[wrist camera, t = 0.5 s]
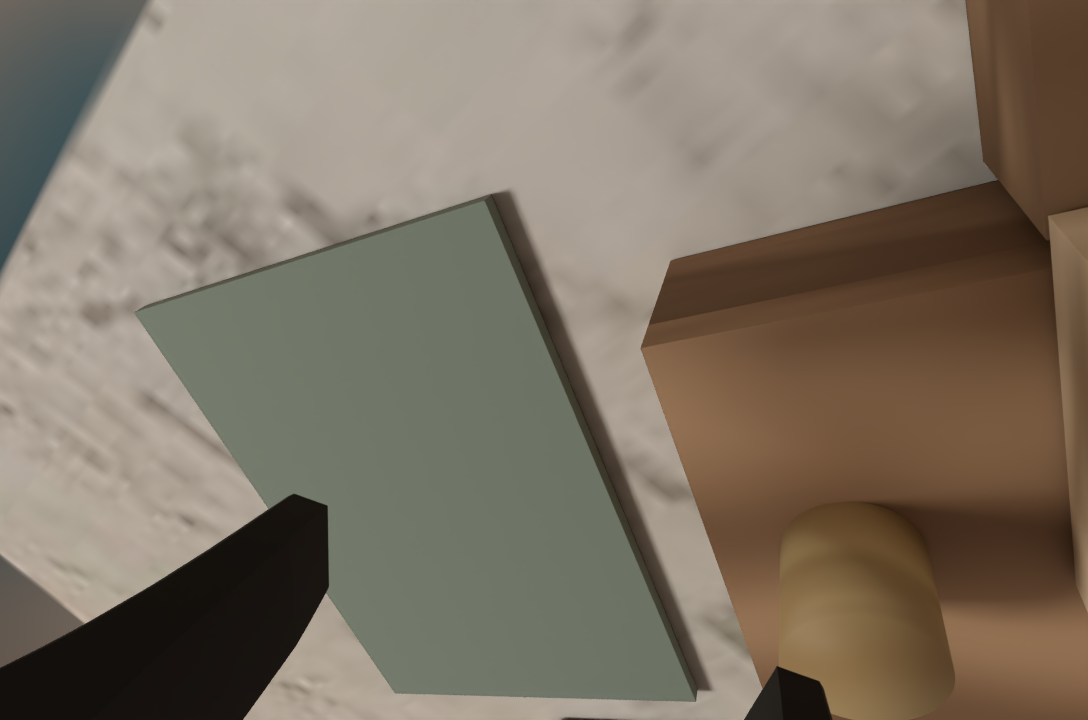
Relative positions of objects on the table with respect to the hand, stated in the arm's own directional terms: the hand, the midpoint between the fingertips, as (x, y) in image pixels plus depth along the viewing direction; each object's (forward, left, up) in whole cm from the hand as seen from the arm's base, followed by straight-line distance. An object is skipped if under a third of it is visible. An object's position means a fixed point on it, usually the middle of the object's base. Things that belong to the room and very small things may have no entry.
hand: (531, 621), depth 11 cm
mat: (-5, +10, -10) cm, 15 cm away
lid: (-4, -6, -7) cm, 10 cm away
